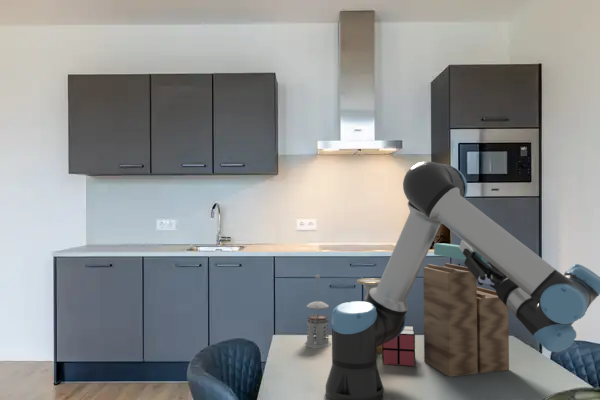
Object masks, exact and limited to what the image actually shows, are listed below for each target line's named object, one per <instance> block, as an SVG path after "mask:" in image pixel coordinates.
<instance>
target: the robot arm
mask: <svg viewBox="0 0 600 400" xmlns="http://www.w3.org/2000/svg"><path fill="white" fill-rule="evenodd" d="M467 181H468V180H467V179H466V177H465V176H464V174H463V173H462V172H461V171H460V170H459V169H458V168H456V167H454V166H452V165H449V164H446V163H440V162H434V161H421V162H417V163H416V164H413V166H411V167H410V168H409V169H407V171H406V174H405V175H404V179H403V182H402V188H403V192H404V195H405V197H406V199H407V200H408V201H407V206H408V209H409V214H408V217H407V219H406V221H405V222H404V225H403V228H402V230H401V232H400V235H399V236H398V240H397V242H396V244H395V246H394V248H393V251H392V252H391V255H390V258H389V260H388V262H387V264H386V267H385V269H384V271H383V274H382V276H381V278H380V279H381V280H380V282H379V284H378V287H375V288H372V289H371V290H370V291H369V294H368V296H367V298H366V300H365V299H364V300H365V301H364V300H363V301H361V300H360V301H359V300H356V301H355V300H353V301H350V302H343V303H340V304H338V305H336V306H335V307H334V308H333V310H332V313H331V321H330V322H331V323H330V325H331V358H332V359H331V360H332V361H331V368H330V370H329V374H328V377H327V381H326V383H325V396H326V398H327V399H328V400H383V399H384V391H385V390H384V384H383V382H382V379H381V378H382V377H381V376H380V372H379V369H378V367H377V355H378V354H377V349H376V347H378V346H380V345H382V344H384V343H386V342H388V341H391V340H393V339H395V338H396V337H397V336H399V335H400V333H401V332H402V331H403V330H404V328H405V326H407V315H406V314H407V312H408V310H409V305H408V303H407V298H408V297H409V295H410V291H411V290H412V287H413V285H414V284H415V281H416V280H417V279H416V278H417V277H418V274H419V272H420V270H421V268H422V267H423V266H422V265H423V264H424V262H425V259H426V257H427V255H428V253H429V251H430V248H431V246H432V244H433V242H434V239H435V238H436V236H437V233H438V231H439V229H440V227H441V225H444V226H445V227H446V228H448V230H450V231H451V232H452V233H453V234H455V235H456V236H457V237H458V238H459V239H461V241H460V244H459V245H460V246H459V249H460V250H461V251H462V252H463V254H464V255H465V257H466V260H464V263H463V264H464V266H465V267H467V268H468V269H469V270H470V271H471V273H472V274H473V275H474V276H475V278H476V282H477V284H478V285H479V286H483V285H484V284H487V285H488V286H490V287H491V288H492V289H493V290H494V291H496V293H497V296H498V297H499V299H500V300H501V301H502V302H503V303H504V304H505V305H506V306H507V307H508V310H509V311H511V313H512V314H513V316H515V317H516V318H517V319H518V320H519V322H520V323H521V324H522V325H523V326H524V327H525V329H527V330H528V332H529V333H530V334H531V335H532V336H533V338H534V339H535V340H536V342H538V343H539V344H540V345H541V346H542V347H543V348H544V349H546V350H547V351H549V352H551V353H559V352H563V351H564V350H565V351H566V350H567V349H568V348H570V347H571V346H572V345H573V344H574V343H575V340H576V338H577V331H576V329H574V327H573V324H574V323H575V322H577V321H578V320H581V319H582V318H584V316H585V315H586V312H587V311H588V308H589V307H590V306H591V304H592V303H593V301H595V300H596V299H597V297H598V296H600V276H599V275H598V274H597V273H595V272H594V271H592V270H591V269H589V268H587V267H585V266H584V265H582V264H579V263H575V264H572V265H571V266H570V267H569V268H568V269H567V270H566V271H565V272H564V274H562V273H561V272H560V271H559V270H557V269H556V268H555V267H553V266H552V265H551V264H549V263H548V262H547V261H546V260H545V259H543V258H542V257H540V256H539V255H538V254H536V253H535V251H533V250H532V249H530V248H529V247H528V246H526V245H525V244H524V243H523V242H521V241H520V240H518V239H517V238H516V237H515V236H513V234H511V233H510V232H509V231H507V230H506V229H505V228H503V227H502V226H501V225H499V224H498V223H497V222H495V221H494V220H493V219H492V218H490V217H489V216H487V214H485V213H484V212H483V211H482V210H480V209H478V208H477V207H476V206H474V204H472V203H471V202H470V201H468V200H467V199H466V197H467V194H468V182H467ZM471 247H472V248H473V249H474V250H475V251H476V252H478V253H479V254H480V255H481V256H482V257H484V258H485V259H486V260H487V261H488V262H483V261H482V260H481V259H480V258H478V257H477V256H476V252H475V251H474V250H473V249H472V248H471ZM488 264H489V265H488Z"/></svg>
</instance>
